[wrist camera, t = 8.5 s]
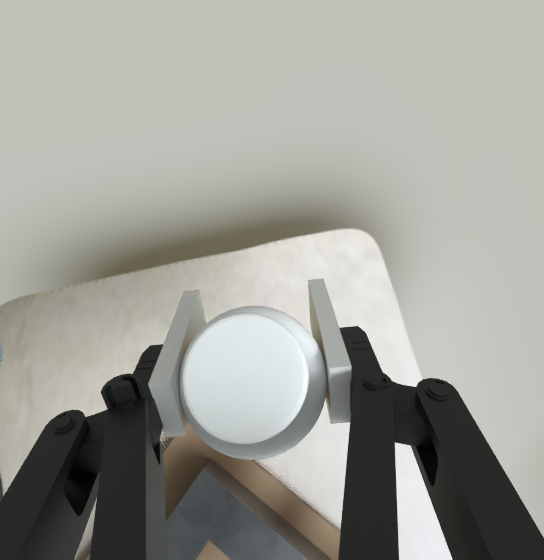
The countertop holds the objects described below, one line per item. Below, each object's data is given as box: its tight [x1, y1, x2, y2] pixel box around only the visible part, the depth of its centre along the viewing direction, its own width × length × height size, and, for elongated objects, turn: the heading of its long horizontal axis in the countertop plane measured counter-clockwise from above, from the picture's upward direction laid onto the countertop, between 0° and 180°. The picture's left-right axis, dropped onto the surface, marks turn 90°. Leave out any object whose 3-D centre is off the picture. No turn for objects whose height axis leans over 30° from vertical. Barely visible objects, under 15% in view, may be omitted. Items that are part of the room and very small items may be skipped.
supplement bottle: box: [179, 306, 327, 460], centre depth 16 cm, size 6×6×10 cm
